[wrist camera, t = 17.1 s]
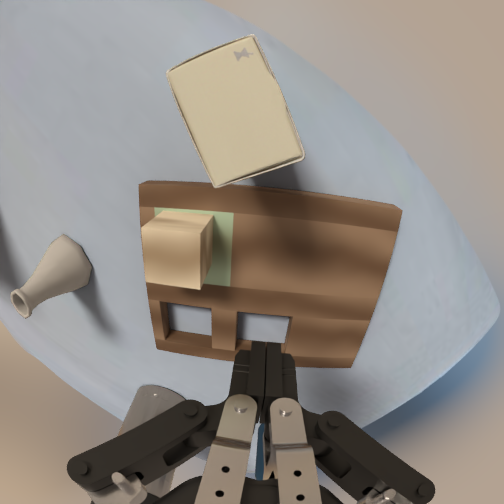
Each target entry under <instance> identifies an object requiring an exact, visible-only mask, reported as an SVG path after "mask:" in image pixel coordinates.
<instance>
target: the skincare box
mask: <svg viewBox="0 0 504 504" xmlns="http://www.w3.org/2000/svg"><path fill="white" fill-rule="evenodd" d="M166 77H167V79H168V82H169V86H170V88H171V91H172V94H173V97H174V99H175V102H176V104H177V107H178V109H179V112H180V114H181V117H182V119H183V121H184V124H185V126H186V128H187V131H188V133H189V135H190V138H191V140H192V142H193V144H194V146H195V149H196V151H197V153H198V155H199V157H200V160H201V162H202V164H203V166H204V168H205V170H206V172H207V174H208V176H209V178H210V180H211V182H212V185H213V187H214V188H220V187H223V186H226V185H229V184H232V183H235V182H238V181H241V180H244V179H248V178H251V177H254V176H257V175H260V174H263V173H266V172H269V171H272V170H275V169H278V168H281V167H284V166H287V165H290V164H293V163H296V162H299V161H302V160H303V159H304V158H305V151H304V149H303V146H302V143H301V140H300V138H299V135H298V132H297V129H296V127H295V124H294V121H293V119H292V116H291V113H290V111H289V109H288V106H287V103H286V101H285V99H284V96H283V94H282V91H281V89H280V87H279V85H278V82H277V80H276V78H275V76H274V73H273V71H272V69H271V67H270V65H269V63H268V61H267V58H266V56H265V54H264V52H263V50H262V48H261V46H260V44H259V42H258V40H257V38H256V36H255V35H253V34H252V35H248V36H245V37H242V38H239V39H236V40H233V41H230V42H228V43H225V44H222V45H219V46H217V47H214V48H212V49H209V50H207V51H204V52H202V53H200V54H198V55H196V56H193V57H191V58H189V59H187V60H185V61H183V62H181V63H180V64H178V65H176V66H174V67H172V68H170V69H169V70H167V72H166Z"/></svg>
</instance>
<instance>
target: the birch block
mask: <svg viewBox="0 0 504 504" xmlns="http://www.w3.org/2000/svg"><path fill="white" fill-rule="evenodd" d="M213 218H214V215H211V214H200V213H187V212H175V211H162V212H161V213H159V214H158V215H157V216H156V217H154V218H153V219H152V220H150V221H149V222H148V223H146V224H145V225H144V226H143V227H141V234H142V248H143V260H144V270H145V279H146V282H150V283H156V284H163V285H170V286H177V287H184V288H191V289H199V290H200V289H201V287H202V285H203V282H204V280H205V278H206V276H207V273H208V271H209V269H210V267H211V264H212V246H213Z"/></svg>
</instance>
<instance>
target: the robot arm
mask: <svg viewBox="0 0 504 504" xmlns="http://www.w3.org/2000/svg"><path fill="white" fill-rule="evenodd" d="M259 417H260V423H263V424H264V433H263V455H264V474H263V480H255V479H251V478H248V477H245V475H246V469H247V464H248V459H249V453H250V447H251V441H252V435H253V433H254V429H255V424H256V423H258V421H259ZM207 446H211V448H210V452H209V455H208V459H207V462H206V466H205V469H204V473H203V476H198V477H195V478H192V479H189V480H187V481H185V482H183V483H182V484H180V485H179V486H177V487H176V488H174V489H173V490H172V491H170V488H171V484H172V480H173V476H174V472H175V468H176V467H178V466H179V465H181V464H183V463H184V462H185V461H187V460H189V459H190V458H192V457H193V456H195V455H196V454H198V453H199V452H201V451H202V450H204V449H205V448H206V447H207ZM316 466H318V468H320V469H321V470H322V471H323V472H324V473H325V474H326V475H327V476H328V477H330V478H331V479H332V480H333V481H334V482H335V483H337V484H338V485H339V486H340V487H341V488H342V489H343V490H345V491H346V492H347V493H348V494H349V495H351V496H352V497H353V498H354V499H355V500H357V501H358V502H357V504H427V503H428V502H430V501H431V500H432V498H433V497H434V494H435V486H434V484H433V482H432V481H430V480H429V479H428V478H426V477H425V476H423V475H422V474H420V473H419V472H417V471H416V470H415V469H413V468H412V467H410V466H409V465H408V464H406V463H405V462H403V461H402V460H401V459H399V458H398V457H397V456H395V455H394V454H393V453H391V452H390V451H389V450H387V449H386V448H384V447H383V446H382V445H381V444H379V443H378V442H377V441H376V440H374V439H373V438H371V437H370V436H369V435H368V434H366V433H365V432H364V431H363V430H362V429H360V428H359V427H358V426H357V425H355V424H354V423H353V422H352V421H351V420H349V419H348V418H347V417H346V416H344V415H343V414H342V413H340V412H337V411H328V412H325V413H323V414H322V415H319V414H315V413H312V412H309V411H307V410H305V409H304V408H303V407H302V406H301V405H300V404H299V402H298V396H297V382H296V370H295V360H294V359H293V357H292V356H291V354H288V353H281V343H273V342H267V343H266V342H261V341H252V343H251V350H242V349H240V350H239V352H238V353H237V354H236V355H235V360H234V366H233V372H232V379H231V385H230V391H229V395H228V397H227V399H226V400H225V401H223V402H222V403H220V404H217V405H210V406H204V405H203V404H202V403H201V402H199V401H196V400H185V399H184V398H183V397H181V396H180V395H178V394H177V393H175V392H173V391H171V390H169V389H166V388H163V387H159V386H154V385H146V386H142V387H140V388H139V389H138V391H137V393H136V395H135V397H134V400H133V402H132V404H131V406H130V408H129V410H128V413H127V415H126V417H125V420H124V422H123V424H122V427H121V429H120V431H119V434H118V436H117V437H116V438H114V439H112V440H110V441H107V442H105V443H103V444H101V445H99V446H97V447H95V448H92V449H90V450H88V451H86V452H84V453H81V454H79V455H77V456H74V457H73V458H71V459H70V460H69V462H68V464H67V471H68V474H69V476H70V477H71V479H72V480H73V481H75V482H76V483H77V484H78V485H79V486H80V487H81V488H82V489H84V490H85V491H86V492H87V493H88V494H89V496H90V497H91V499H92V501H91V504H343V503H342V502H341V501H340V500H339V499H338V498H337V497H335V496H334V495H333V494H332V493H331V492H330V491H329V490H328V489H326V488H325V487H323V486H321V485H319V483H318V476H317V470H316Z"/></svg>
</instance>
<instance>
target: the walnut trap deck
mask: <svg viewBox="0 0 504 504" xmlns="http://www.w3.org/2000/svg"><path fill="white" fill-rule="evenodd" d="M139 207H140V225H141V227H143V226H144V225H145V224H146V223H148V222H149V221H150V220H152V219H153V218H154V217H156V216H157V215H158V214H159V213H161V212H162V211H175V212H187V213H200V214H211V215H214V218H213V246H212V264H211V267H210V269H209V271H208V273H207V276H206V278H205V280H204V282H203V285H202V287H201V289H200V290H199V289H191V288H184V287H177V286H170V285H163V284H156V283H150V282H146V286H147V293H148V300H149V307H150V313H151V320H152V325H153V331H154V337H155V342H156V347H157V349H159V350H164V351H169V352H175V353H180V354H186V355H192V356H198V357H205V358H212V359H219V360H226V361H234V360H235V355H236V354H237V353H238V352H239V350H240V349H242V350H251V343H252V341H251V340H241V339H237V326H238V311H239V312H248V313H258V314H268V315H280V316H290V318H289V323H288V329H287V334H286V339H285V343H281V353H288V354H291V356H292V357H293V359H294V360H295V367H316V368H351V366H352V364H353V362H354V359H355V357H356V355H357V352H358V350H359V348H360V345H361V343H362V340H363V338H364V335H365V333H366V330H367V328H368V325H369V323H370V320H371V317H372V314H373V312H374V309H375V306H376V303H377V300H378V297H379V294H380V291H381V288H382V285H383V282H384V279H385V276H386V272H387V269H388V266H389V262H390V259H391V255H392V252H393V248H394V244H395V240H396V236H397V232H398V228H399V224H400V220H401V215H402V210H401V209H399V208H398V207H396V206H395V205H393V204H387V203H381V202H376V201H370V200H363V199H357V198H351V197H344V196H337V195H330V194H322V193H314V192H306V191H298V190H289V189H280V188H270V187H259V186H247V185H234V184H229V185H226V186H223V187H220V188H214V187H213V185H212V183H203V182H181V181H146V182H144V183H141V184H139ZM141 238H142V234H141ZM142 250H143V248H142ZM167 302H169V303H176V304H183V305H190V306H197V307H205V308H211V311H212V336H209V335H202V334H195V333H188V332H182V331H176V330H170V325H169V317H168V309H167ZM266 343H267V342H266Z"/></svg>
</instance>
